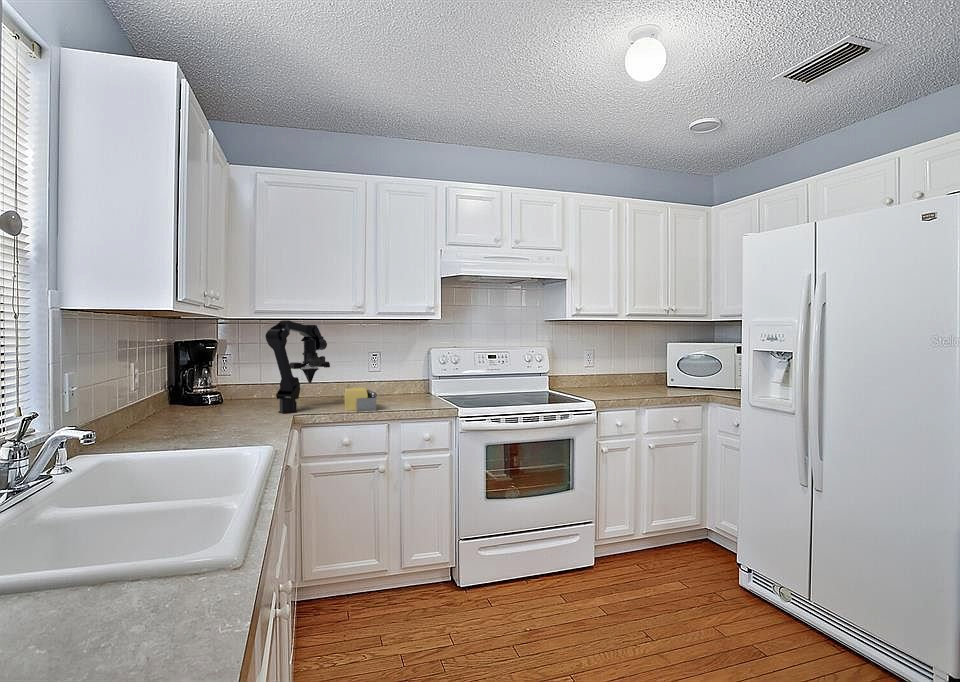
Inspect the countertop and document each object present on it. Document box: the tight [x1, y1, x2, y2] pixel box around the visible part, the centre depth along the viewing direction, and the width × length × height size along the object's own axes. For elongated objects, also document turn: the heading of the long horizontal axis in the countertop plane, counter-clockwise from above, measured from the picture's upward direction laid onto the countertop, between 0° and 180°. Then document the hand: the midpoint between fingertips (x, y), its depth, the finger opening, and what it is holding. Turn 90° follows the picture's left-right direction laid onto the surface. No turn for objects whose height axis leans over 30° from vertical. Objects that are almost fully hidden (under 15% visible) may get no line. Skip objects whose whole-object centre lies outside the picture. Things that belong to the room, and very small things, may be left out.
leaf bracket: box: [356, 389, 378, 412], centre depth 282 cm, size 10×17×8 cm, turn 23°
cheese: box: [344, 387, 368, 410], centre depth 280 cm, size 10×11×10 cm
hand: (309, 382), depth 284 cm, fingers closed
